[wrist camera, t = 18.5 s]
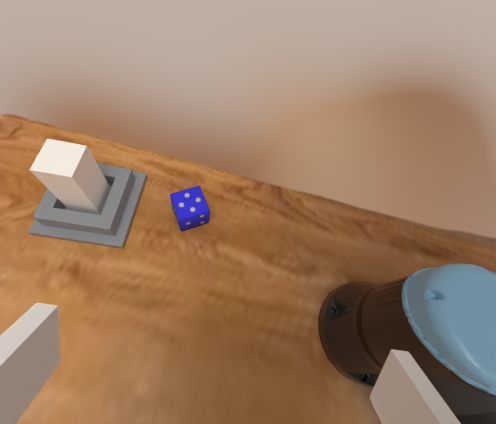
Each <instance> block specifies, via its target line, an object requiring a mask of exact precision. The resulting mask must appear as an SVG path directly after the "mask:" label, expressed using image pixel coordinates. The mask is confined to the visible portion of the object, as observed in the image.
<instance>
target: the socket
mask: <svg viewBox="0 0 496 424" xmlns="http://www.w3.org/2000/svg"><path fill="white" fill-rule="evenodd" d="M97 165H98V166H99V168H100V170H101V172H102V173H103V175H104V177H105V179H106V180H107V182H108V184H109V185H110V187H111V190H110V193H109V195H108V198H107V200H106V203H105V205H104V208H103V211H102V213H101V215H95V214H89V213H83V212H77V211H71V210H69V209H68V208H67V207H66V206H65V205H64V204H63V203H62V202H61V201H60V200H59V199H58V198H57V197H56V196H55V195H54V194H53V193H52V192H51V191H50V190H49V189H48V188H47V190H46V192H45V194H44V196H43V198H42V200H41V202H40V204H39V206H38V208H37V210H36V212H35V214H34V216H33V218H34V219H35V221H34V223H33V224H32V226H31V228H30V230H29V232H28V233H30V234H32V235H37V236H43V237H50V238H56V239H63V240H70V241H76V242H83V243H89V244H96V245H102V246H109V247H115V248H122V249H123V248H124V245H125V242H126V239H127V236H128V233H129V230H130V227H131V224H132V221H133V218H134V215H135V212H136V209H137V206H138V203H139V200H140V197H141V194H142V191H143V188H144V185H145V182H146V179H147V174H145V173H140V172H134V171H132V170H131V169H126V168H120V167H115V166H109V165H103V164H98V163H97Z"/></svg>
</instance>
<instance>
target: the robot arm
mask: <svg viewBox="0 0 496 424" xmlns="http://www.w3.org/2000/svg"><path fill="white" fill-rule="evenodd" d="M319 334H320V339H321V343H322V346H323V348H324V351H325V353H326V355H327V356H328V358H329V360H330V361H331V363H332V364H333V365H334V366H335V368H336V369H337V370H338V371H339V372H340V373H341V374H343V375H344V376H345V377H347V378H348V379H350V380H352V381H354V382H356V383H359V384H362V385H366V386H370V387H374V388H373V390H372V392H371V395H370V397H369V398H370V400H371V402H372V404H373V406H374V409H375V411H376V413H377V415H378V417H379V419H380V421H381V424H496V272H491V271H488V270H486V269H485V268H483V267H481V266H477V265H472V264H463V263H456V264H448V265H444V266H439V267H435V268H433V267H432V268H424V269H421V270H419V271H416V272H414V273H413V274H411V275H410V276H407V277H404V278H401V279H398V280H394V281H391V282H388V283H385V284H381V285H380V284H375V283H370V282H363V281H358V282H351V283H348V284H345V285H343V286H340V287H338V288H337V289H335V290H334V291H332V292H331V293H330V294H329V295H328V297H327V298H326V300H325V301H324V303H323V305H322V308H321V311H320V315H319ZM59 363H60V340H59V313H58V306H57V305H50V304H42V303H36V304H34V305H33V306H32V307H31V308H30V309H29V310H28V311H27V312H26V313H25V314H24V315H22V316H21V317H20V318H19V319H18V320H17V321H16V322H15V323H14V324H13V325H11V326H10V327H9V328H8V329H7V330H6V331H5V332H4V333H3V334H2V335H1V336H0V424H16V422H17V421H18V420H19V418H20V417H21V415H22V414H23V413H24V411H25V410H26V409H27V407H28V406H29V405H30V403H31V402H32V400H33V399H34V398H35V396H36V395H37V394H38V392H39V391H40V389H41V388H42V387H43V385H44V384H45V383H46V381H47V380H48V379H49V377H50V376H51V374H52V373H53V372H54V370H55V369H56V368H57V366H58V365H59Z"/></svg>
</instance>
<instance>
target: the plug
mask: <svg viewBox="0 0 496 424" xmlns="http://www.w3.org/2000/svg"><path fill="white" fill-rule="evenodd" d="M30 171H31V172H32V173H33V174H34V175H35V176H36V177H37V178H38V179H39V180H40V181H41V182H42V183H43V184H44V185H45V186H46V187H47V188H48V189H49V190H50V191H51V192H52V193H53V194H54V195H55V196H56V197H57V198H58V199H59V200H60V201H61V202H62V203H63V204H64V205H65V206H66V207H67V208H68V209H69V210H71V211H77V212H83V213H89V214H95V215H101V213H102V211H103V208H104V205H105V203H106V200H107V198H108V195H109V193H110V190H111V187H110V185H109V184H108V182H107V180H106V179H105V177H104V175H103V173H102V172H101V170H100V168H99V166H98V165H97V163H96V161H95V159H94V158H93V156H92V154H91V152H90V151H89V149H88V147H87V146H84V145H79V144H74V143H68V142H63V141H57V140H52V139H47V140H46V142H45V144H44V145H43V147H42V149H41V151H40V152H39V154H38V156H37V158H36V159H35V161H34V163H33V165H32V166H31V168H30Z"/></svg>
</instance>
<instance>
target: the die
mask: <svg viewBox="0 0 496 424" xmlns="http://www.w3.org/2000/svg"><path fill="white" fill-rule="evenodd" d="M170 196H171V201H172V206H173V210H174V213H175V215H176V218H177V221H178V224H179V227H180V229H181V231H185V230H188V229H191V228H194V227H197V226H200V225H203V224H206V223H208V222H209V211H210V210H209V208H208V205H207V203H206V201H205V198H204V196H203V193H202V191H201V188H200V186H197V187H193V188H190V189H186V190H183V191H179V192H175V193H172V194H170Z"/></svg>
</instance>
